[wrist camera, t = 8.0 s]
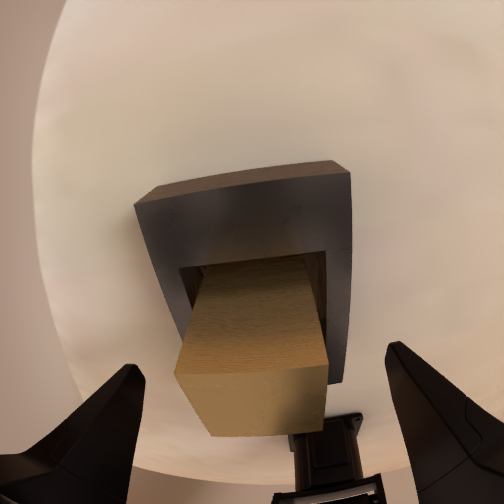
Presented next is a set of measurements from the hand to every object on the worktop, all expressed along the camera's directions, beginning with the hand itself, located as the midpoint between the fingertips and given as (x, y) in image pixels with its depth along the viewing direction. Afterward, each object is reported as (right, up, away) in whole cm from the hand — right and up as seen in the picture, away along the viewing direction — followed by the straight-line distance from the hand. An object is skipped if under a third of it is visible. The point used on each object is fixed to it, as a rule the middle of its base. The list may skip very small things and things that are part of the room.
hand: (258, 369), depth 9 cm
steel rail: (0, +2, +5) cm, 5 cm away
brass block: (0, +2, +5) cm, 5 cm away
